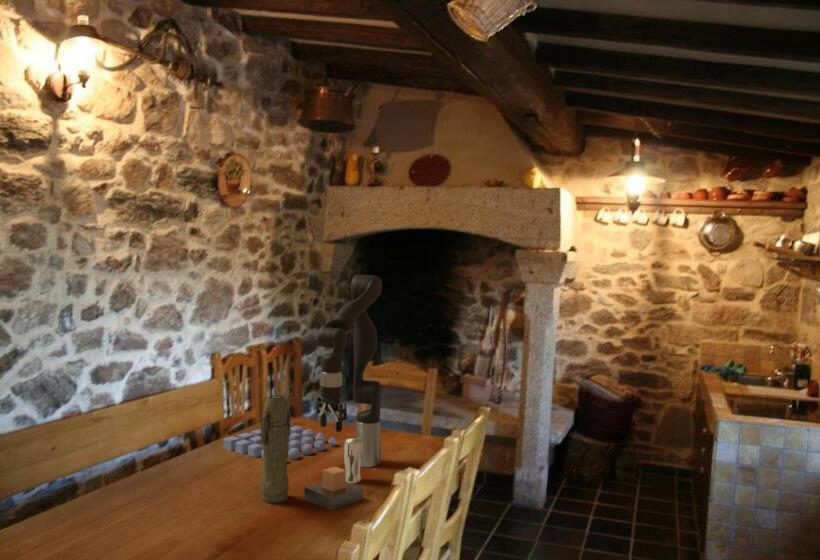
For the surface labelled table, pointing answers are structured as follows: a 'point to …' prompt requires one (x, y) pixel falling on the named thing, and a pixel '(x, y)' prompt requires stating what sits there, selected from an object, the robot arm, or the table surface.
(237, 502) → the table surface
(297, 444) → the blocks
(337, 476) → the light brown cube
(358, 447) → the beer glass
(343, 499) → the plate
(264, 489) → the green stone statue
